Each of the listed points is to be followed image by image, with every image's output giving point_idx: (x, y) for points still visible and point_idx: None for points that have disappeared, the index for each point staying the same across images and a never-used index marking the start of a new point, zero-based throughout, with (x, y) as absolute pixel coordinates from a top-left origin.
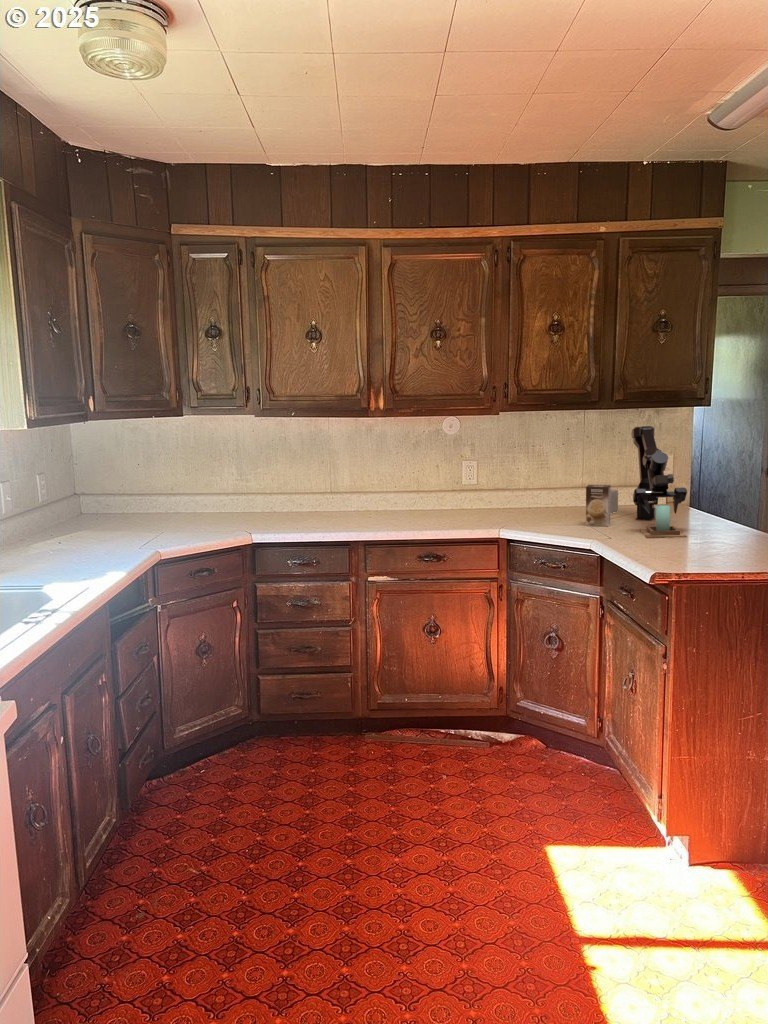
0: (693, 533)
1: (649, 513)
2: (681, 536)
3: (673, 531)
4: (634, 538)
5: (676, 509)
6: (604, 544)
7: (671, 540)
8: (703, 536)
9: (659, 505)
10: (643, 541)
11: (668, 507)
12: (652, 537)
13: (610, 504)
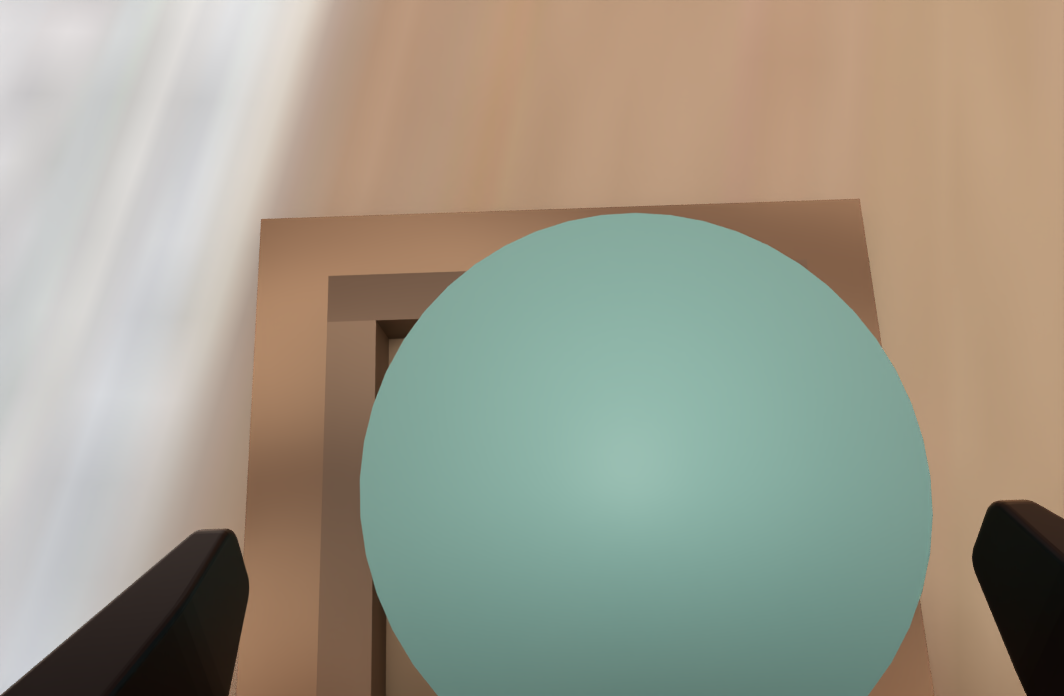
0: (65, 573)
1: (1000, 531)
2: (344, 221)
3: (439, 272)
4: (1025, 206)
5: (148, 581)
6: None
7: (526, 49)
8: (7, 306)
9: (765, 682)
10: (900, 2)
11: (462, 283)
12: (769, 206)
13: None
